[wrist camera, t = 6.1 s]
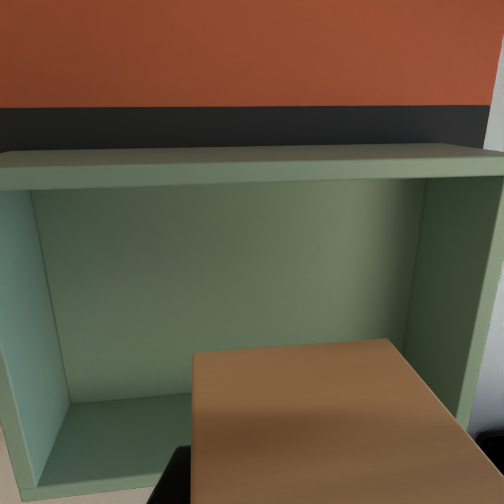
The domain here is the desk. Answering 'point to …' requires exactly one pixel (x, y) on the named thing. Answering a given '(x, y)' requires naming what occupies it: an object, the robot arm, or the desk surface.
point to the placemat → (245, 72)
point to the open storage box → (224, 284)
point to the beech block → (328, 430)
